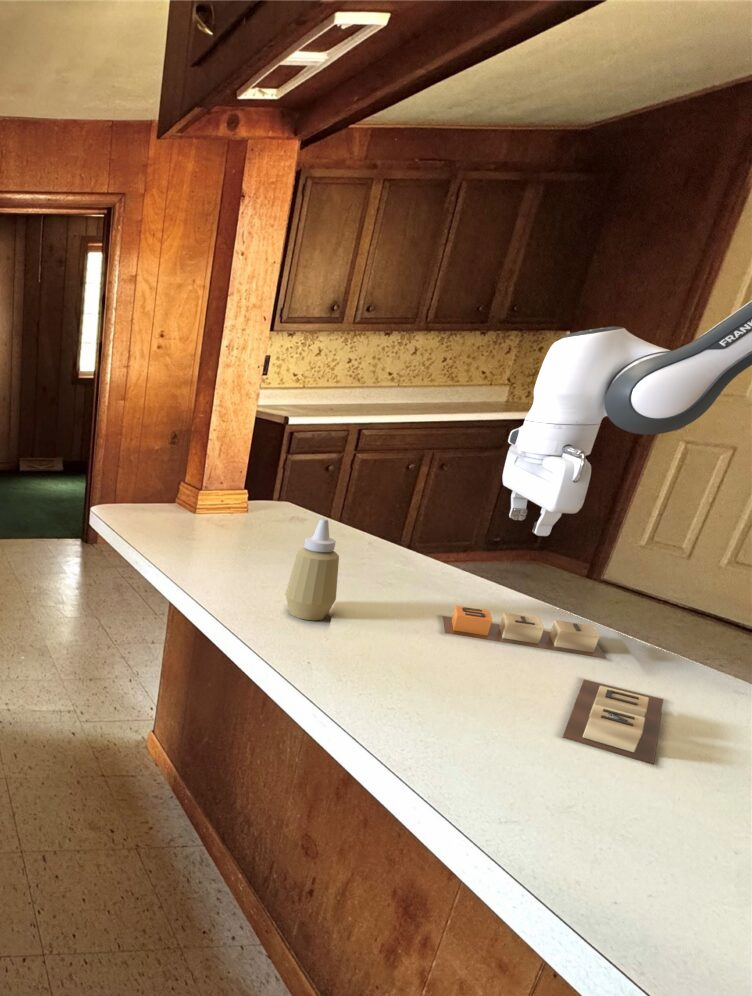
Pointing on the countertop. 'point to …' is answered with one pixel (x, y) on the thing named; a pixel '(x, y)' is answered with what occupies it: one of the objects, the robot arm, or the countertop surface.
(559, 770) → the countertop surface
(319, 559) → the squeeze bottle
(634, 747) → the front rack
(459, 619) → the s tile
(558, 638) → the back rack
